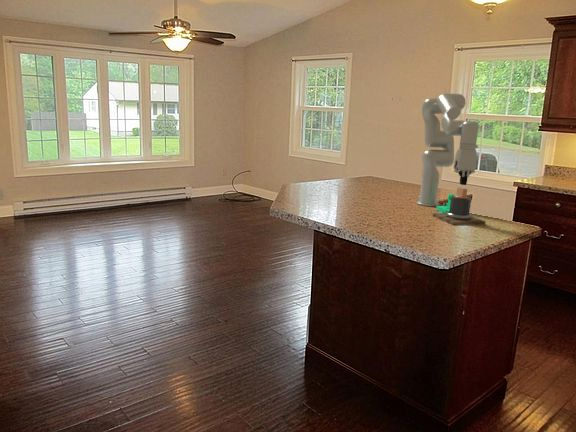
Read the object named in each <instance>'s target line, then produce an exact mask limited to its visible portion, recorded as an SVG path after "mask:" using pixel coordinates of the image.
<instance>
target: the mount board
mask: <svg viewBox="0 0 576 432" xmlns="http://www.w3.org/2000/svg"><path fill="white" fill-rule="evenodd" d="M432 217H434V218H437V219H438V220H441V221H442V220H443V222H445V223H447V224H449V223H450V224H449V225H451V224H452V226H455V225H454V224H476V225H485V224H486V220H483V219H480V218H478V217H476V216H473V215H472V217H471V219H470V220H456V219H451V218H448V217H446V213H440V212H438V213H433V214H432Z"/></svg>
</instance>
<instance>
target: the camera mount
mask: <svg viewBox="0 0 576 432" xmlns="http://www.w3.org/2000/svg"><path fill="white" fill-rule="evenodd" d="M456 194H457V193H456ZM456 194H455V193H449V194H448V195H447V203H446V205H438V206H435V209H436V210H437V211H438V213H440V212H441V213H447V211H449V210H450V201H451V196H455V195H456Z"/></svg>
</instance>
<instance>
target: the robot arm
mask: <svg viewBox="0 0 576 432" xmlns="http://www.w3.org/2000/svg"><path fill="white" fill-rule="evenodd" d="M465 106H466V98H465V96H464V95H463V94H461V93H450V92H449V93H442V94H440V95H439V96H438V97H433V98H432V97H431V98H427V99H425V100H424V101H423V102H422V107H421V113H422V118H423V122H424V142H425V146H426V147H428V148H432V149H427V150H425V151H424V152H423V153H422V157H421V158H422V159H421V160H422V161H421V162H422V173H421V181H420V193H419V195H418V197H417V198H418V200H416V204H417V205H419V206H423V207H425V206H426V207H437V206H440V203H439V202H437V200H438V191H439V183H440V172H439V170H438V169H437V167H439V168H441V167H442V168H444V167H445V168H447V167H451V166H453V169H454V170H453V171H454V173H457V174H458V175H459V185H462V186H467V183H468V178H469V177H470V175H472V174H474V173H475V172H476V169H477V162H478V156H477V155H478V154H477V153H478V152H477V150H476V149H477V148H478V147H479V145H477V143H478V142H477V141H478V133H479V126H480V125H479V122H476V121H470V120H459V119H458V120H457V118H459V116H460V115H461V114H462V112H461V111H462V110H463V109H464V108H465ZM437 115H442V116H441V119H440V120H439V118H438V116H437ZM441 128H442V129H441ZM454 136H456V137H457V136H459V137H460V139H459V148H458V149H457V151H456V152H455V138H454ZM433 148H439V149H433ZM440 148H441V149H440ZM455 153H456V154H455Z"/></svg>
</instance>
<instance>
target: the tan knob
mask: <svg viewBox="0 0 576 432" xmlns="http://www.w3.org/2000/svg"><path fill="white" fill-rule="evenodd" d="M467 194H468V189H467V188H464V187H458V186H457V188H456V195H455V196H454V197H455V198H458V199H468V198H469V197H468V196H467Z"/></svg>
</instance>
